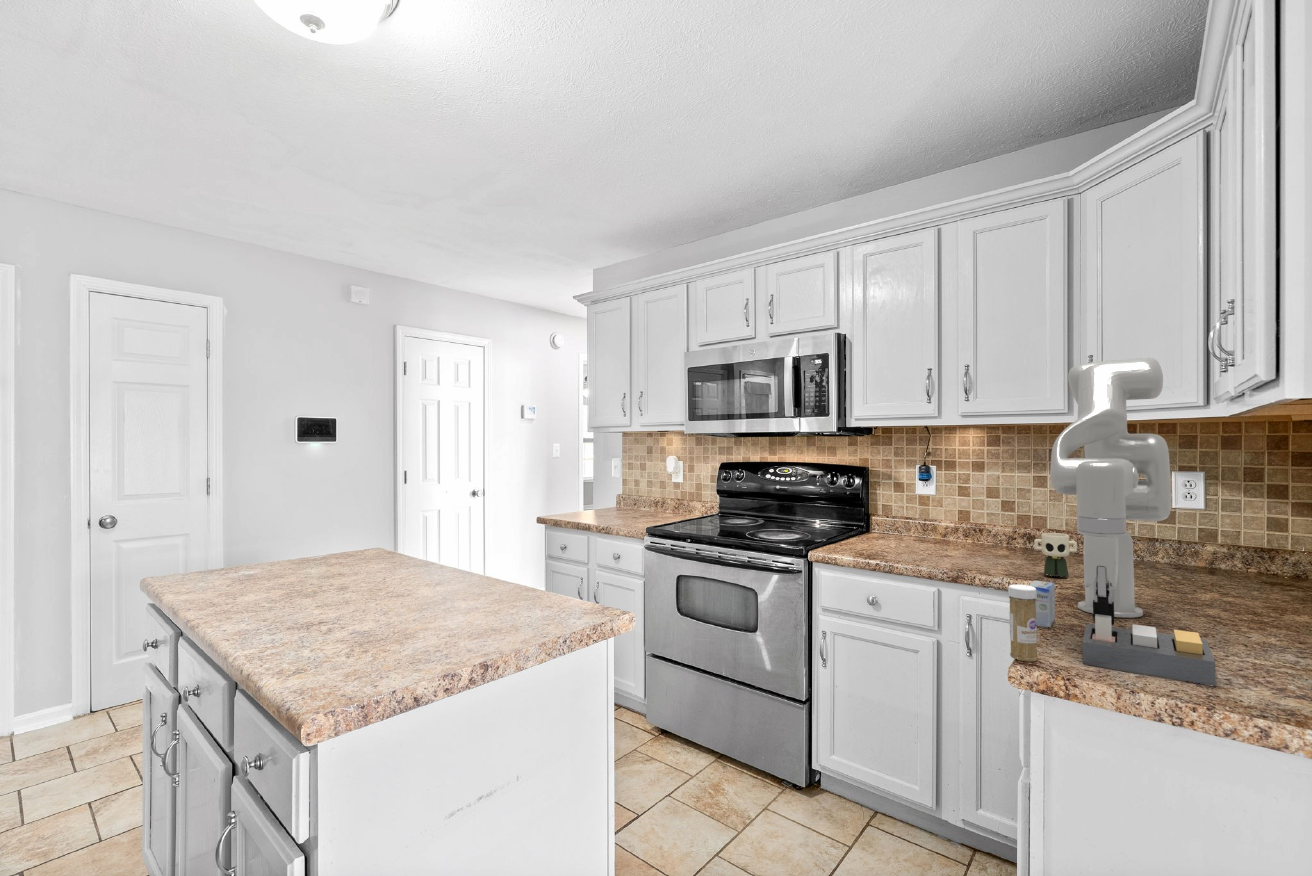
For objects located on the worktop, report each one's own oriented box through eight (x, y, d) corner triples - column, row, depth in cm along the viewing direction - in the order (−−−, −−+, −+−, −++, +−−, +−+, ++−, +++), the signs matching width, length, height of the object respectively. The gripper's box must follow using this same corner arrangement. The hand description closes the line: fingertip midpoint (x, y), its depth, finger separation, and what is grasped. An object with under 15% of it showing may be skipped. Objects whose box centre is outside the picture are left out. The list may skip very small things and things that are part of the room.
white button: (1132, 633, 117) (1132, 624, 117) (1155, 636, 115) (1155, 627, 115) (1132, 644, 111) (1132, 634, 111) (1157, 648, 109) (1157, 637, 109)
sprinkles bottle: (1030, 664, 113) (1028, 590, 113) (1005, 657, 117) (1003, 585, 117) (1042, 659, 115) (1041, 586, 116) (1017, 652, 119) (1015, 582, 119)
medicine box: (1033, 617, 144) (1032, 579, 144) (1055, 620, 141) (1054, 582, 142) (1027, 624, 138) (1026, 585, 138) (1051, 628, 135) (1050, 588, 135)
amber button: (1173, 639, 114) (1173, 629, 114) (1198, 642, 111) (1198, 632, 112) (1176, 650, 107) (1176, 640, 107) (1202, 654, 105) (1202, 643, 105)
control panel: (1087, 643, 124) (1086, 623, 124) (1206, 661, 113) (1206, 639, 113) (1082, 664, 112) (1082, 642, 112) (1216, 686, 101) (1215, 661, 102)
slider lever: (1093, 638, 117) (1092, 612, 118) (1115, 642, 115) (1114, 615, 116) (1092, 644, 114) (1091, 617, 114) (1115, 647, 112) (1114, 619, 112)
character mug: (1034, 577, 188) (1033, 534, 189) (1035, 573, 194) (1034, 531, 195) (1078, 581, 183) (1077, 536, 183) (1077, 576, 189) (1076, 534, 189)
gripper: (1079, 520, 125) (1082, 610, 126) (1074, 530, 114) (1077, 630, 114) (1126, 522, 121) (1128, 616, 121) (1126, 533, 109) (1128, 637, 109)
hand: (1103, 622), depth 117 cm, fingers closed
